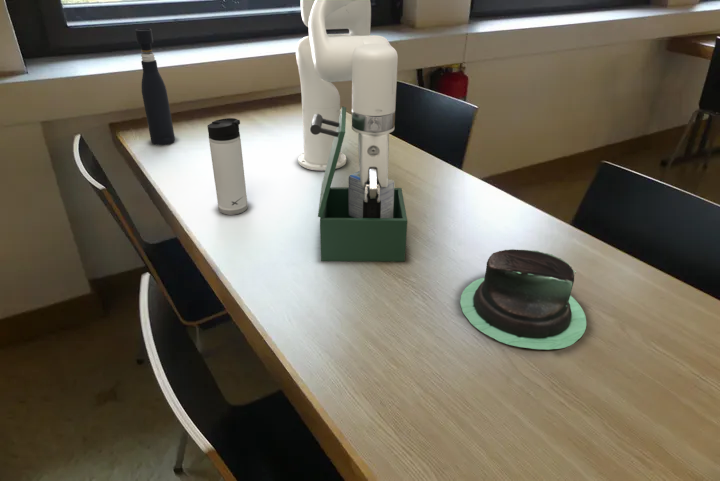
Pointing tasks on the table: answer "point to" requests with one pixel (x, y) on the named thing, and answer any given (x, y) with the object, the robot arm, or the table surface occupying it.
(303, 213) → the table surface
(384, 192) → the medicine box
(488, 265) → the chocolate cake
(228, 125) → the travel mug
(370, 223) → the chest
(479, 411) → the table surface
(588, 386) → the table surface
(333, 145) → the lid
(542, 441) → the table surface
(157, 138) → the dark blue water bottle
